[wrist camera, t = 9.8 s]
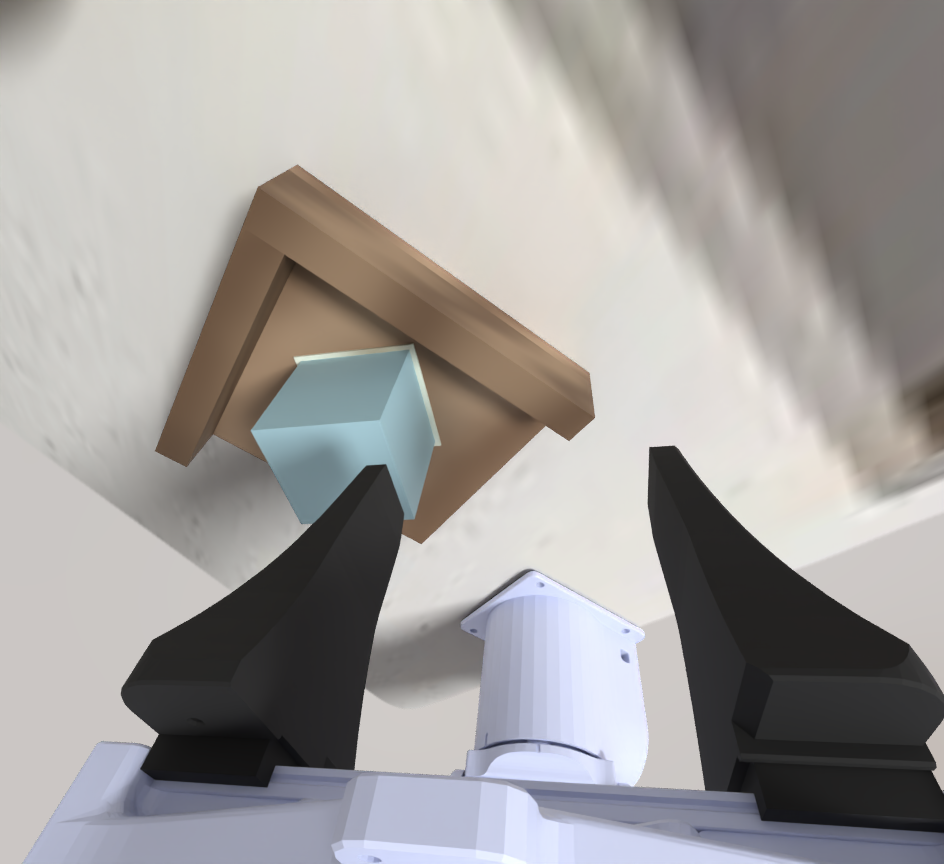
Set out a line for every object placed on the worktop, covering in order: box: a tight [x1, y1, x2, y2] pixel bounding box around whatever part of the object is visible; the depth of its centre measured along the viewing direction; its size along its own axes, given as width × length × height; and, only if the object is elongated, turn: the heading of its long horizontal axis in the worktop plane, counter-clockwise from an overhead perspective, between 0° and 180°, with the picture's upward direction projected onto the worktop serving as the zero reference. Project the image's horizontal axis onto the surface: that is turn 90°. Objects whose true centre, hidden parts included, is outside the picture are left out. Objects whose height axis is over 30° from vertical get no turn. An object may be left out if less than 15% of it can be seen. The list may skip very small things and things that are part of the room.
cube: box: [251, 350, 435, 524], centre depth 22 cm, size 5×5×5 cm
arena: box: [155, 165, 595, 544], centre depth 23 cm, size 14×14×3 cm
